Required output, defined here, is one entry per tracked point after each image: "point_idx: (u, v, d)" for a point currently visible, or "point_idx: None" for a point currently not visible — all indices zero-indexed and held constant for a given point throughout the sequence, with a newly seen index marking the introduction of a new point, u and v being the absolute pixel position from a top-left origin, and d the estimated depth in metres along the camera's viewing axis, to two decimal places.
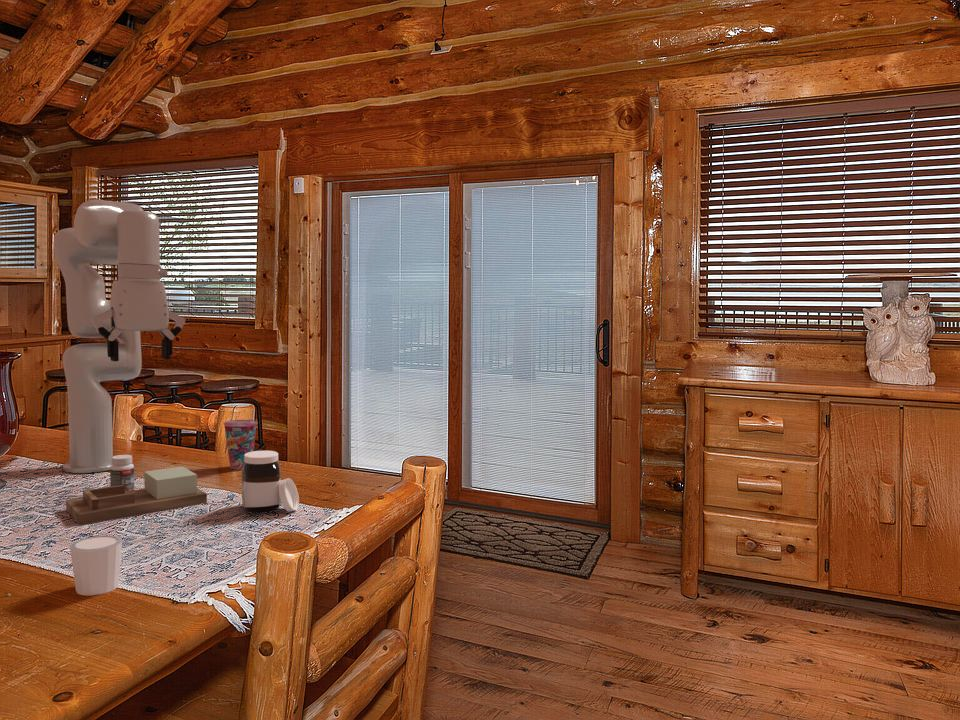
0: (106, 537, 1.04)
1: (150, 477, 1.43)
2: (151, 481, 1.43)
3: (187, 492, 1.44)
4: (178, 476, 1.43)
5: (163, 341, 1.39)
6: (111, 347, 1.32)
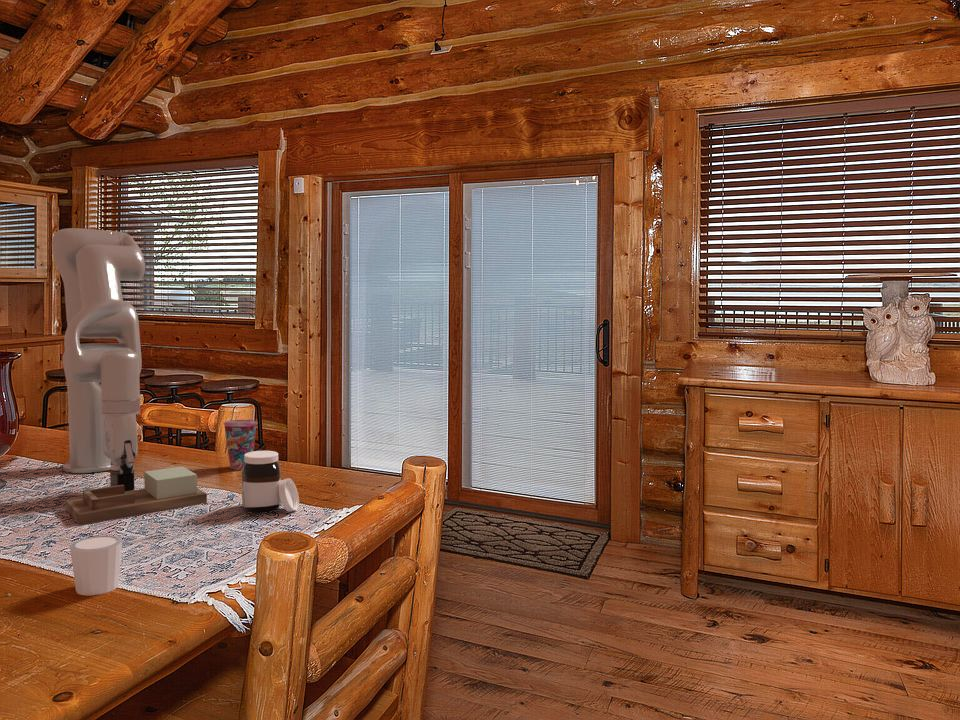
0: (106, 537, 1.04)
1: (150, 477, 1.43)
2: (151, 481, 1.43)
3: (187, 492, 1.44)
4: (178, 476, 1.43)
5: None
6: None
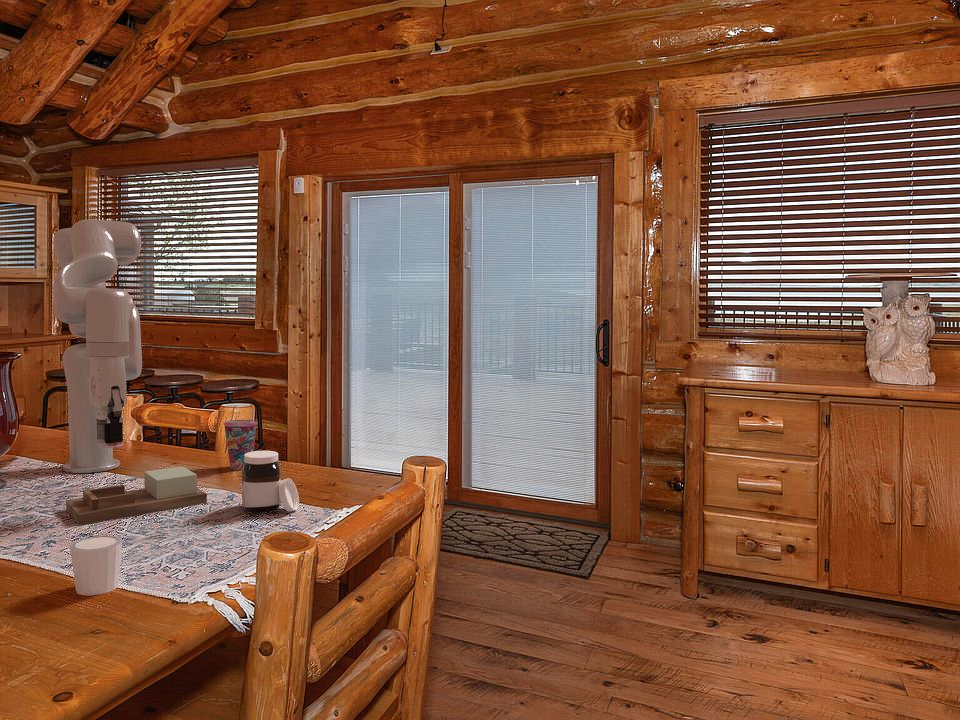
0: (106, 537, 1.04)
1: (150, 477, 1.43)
2: (151, 481, 1.43)
3: (187, 492, 1.44)
4: (178, 476, 1.43)
5: None
6: None
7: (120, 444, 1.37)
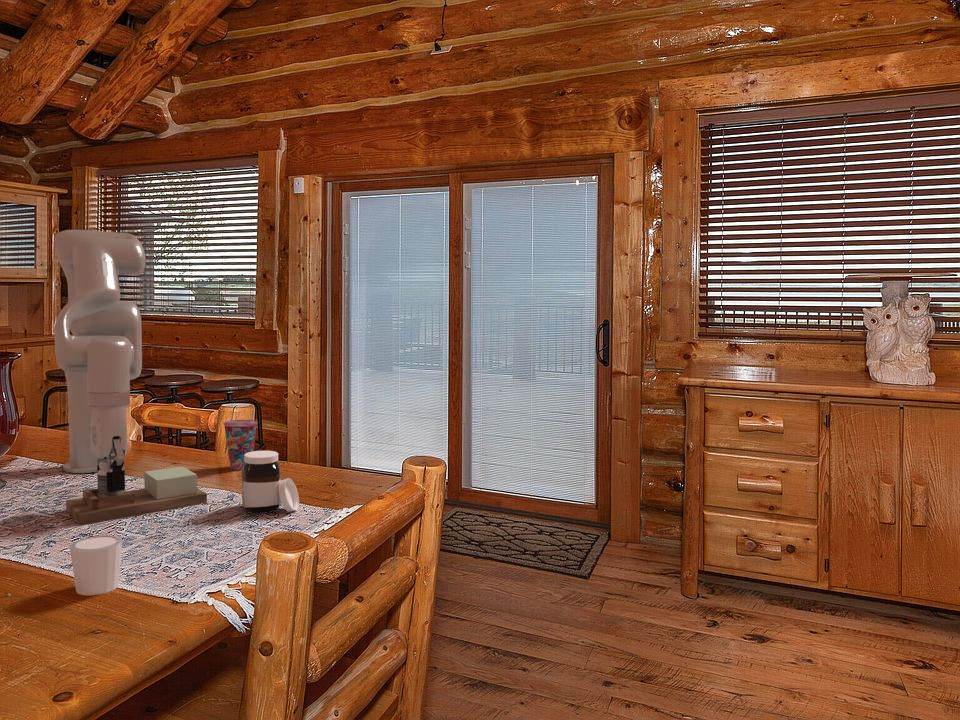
0: (106, 537, 1.04)
1: (150, 477, 1.43)
2: (151, 481, 1.43)
3: (187, 492, 1.44)
4: (178, 476, 1.43)
5: None
6: None
7: None
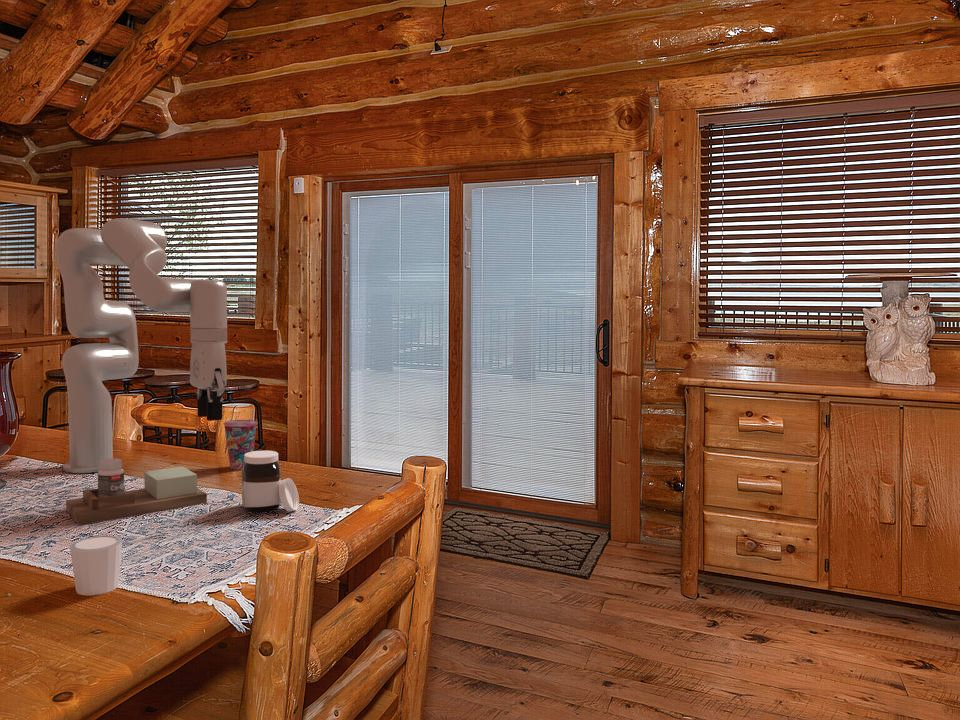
0: (106, 537, 1.04)
1: (150, 477, 1.43)
2: (151, 481, 1.43)
3: (187, 492, 1.44)
4: (178, 476, 1.43)
5: (204, 400, 1.52)
6: None
7: None
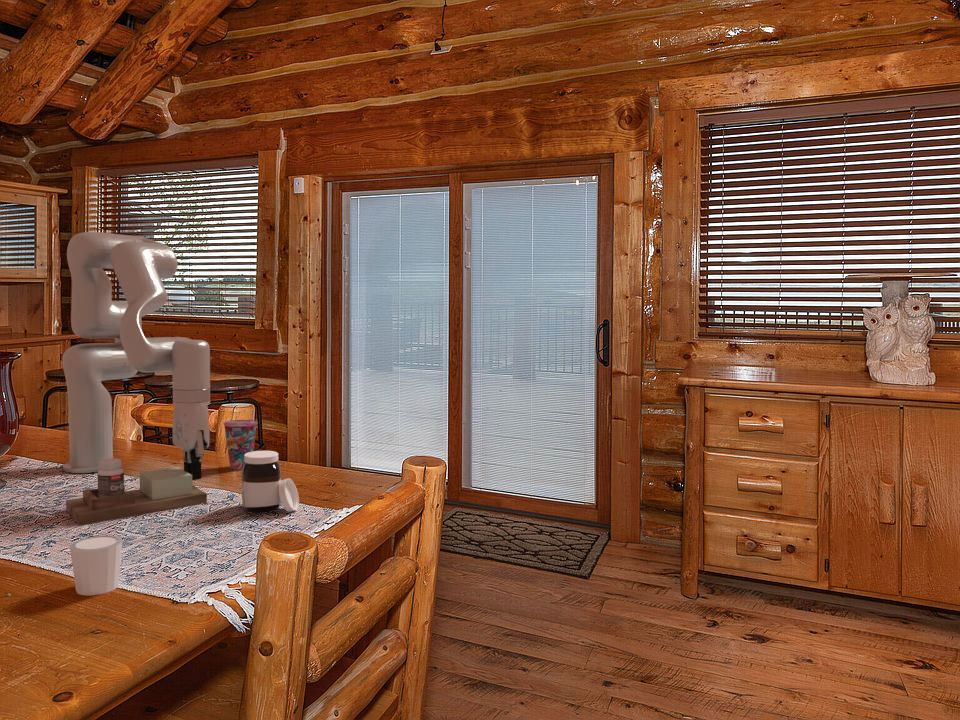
0: (106, 537, 1.04)
1: (145, 478, 1.42)
2: (146, 482, 1.42)
3: (182, 493, 1.43)
4: (174, 476, 1.43)
5: None
6: None
7: None
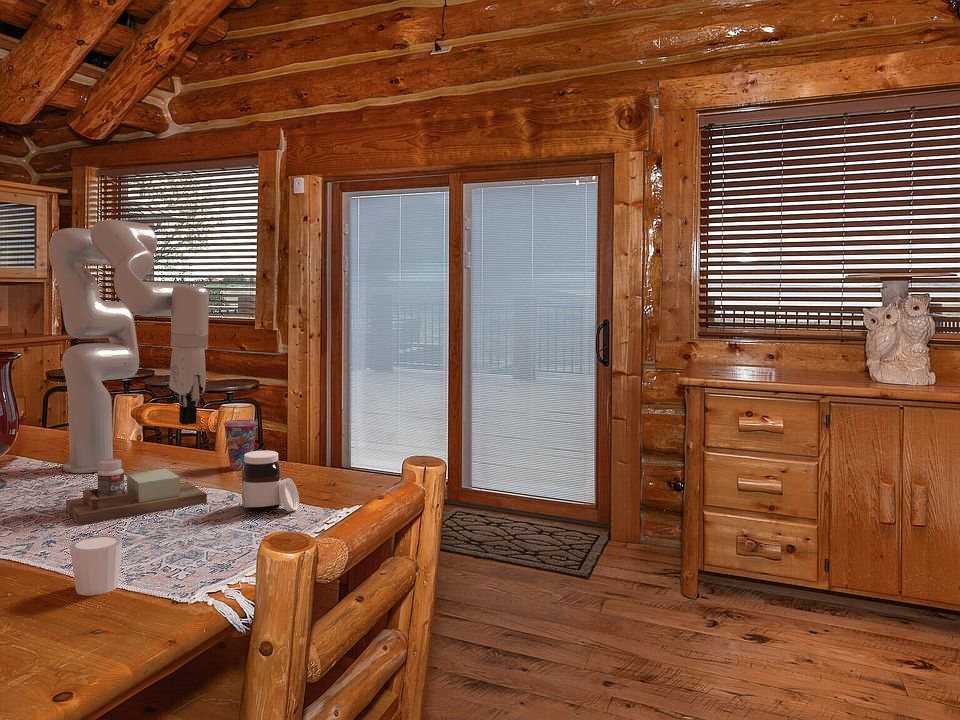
0: (106, 537, 1.04)
1: (132, 480, 1.41)
2: (133, 484, 1.40)
3: (170, 495, 1.42)
4: (161, 478, 1.41)
5: None
6: None
7: None
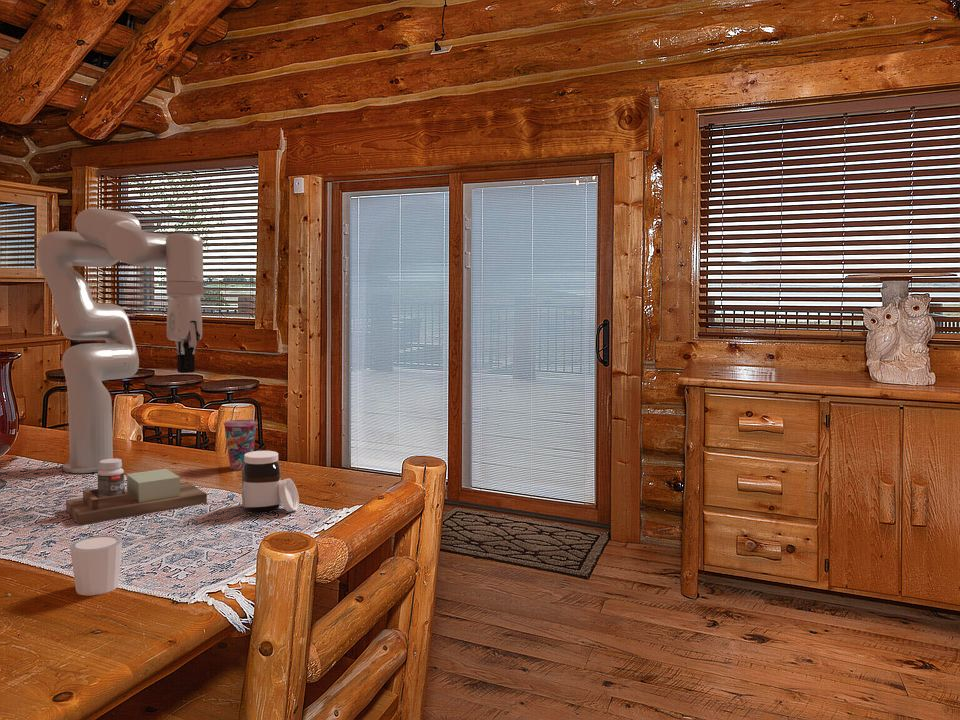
0: (106, 537, 1.04)
1: (132, 480, 1.41)
2: (133, 484, 1.40)
3: (170, 495, 1.42)
4: (161, 478, 1.41)
5: None
6: None
7: None
